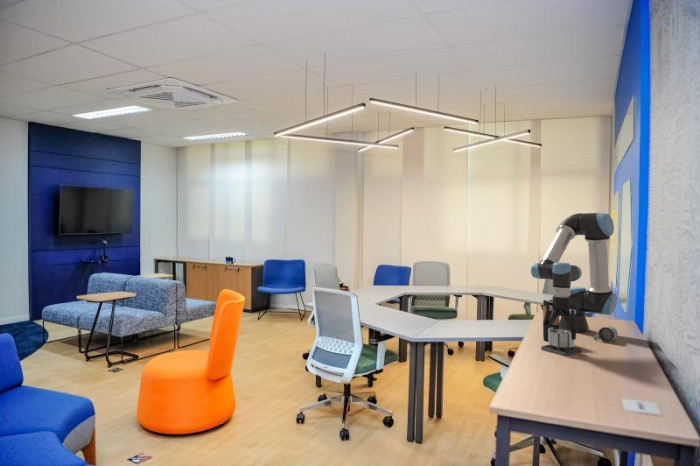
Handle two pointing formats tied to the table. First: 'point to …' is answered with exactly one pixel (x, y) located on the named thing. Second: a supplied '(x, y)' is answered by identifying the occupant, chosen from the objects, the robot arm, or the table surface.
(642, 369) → the table surface
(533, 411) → the table surface
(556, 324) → the travel mug
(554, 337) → the ring
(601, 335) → the ceramic mug
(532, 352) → the table surface
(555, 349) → the shaft block
